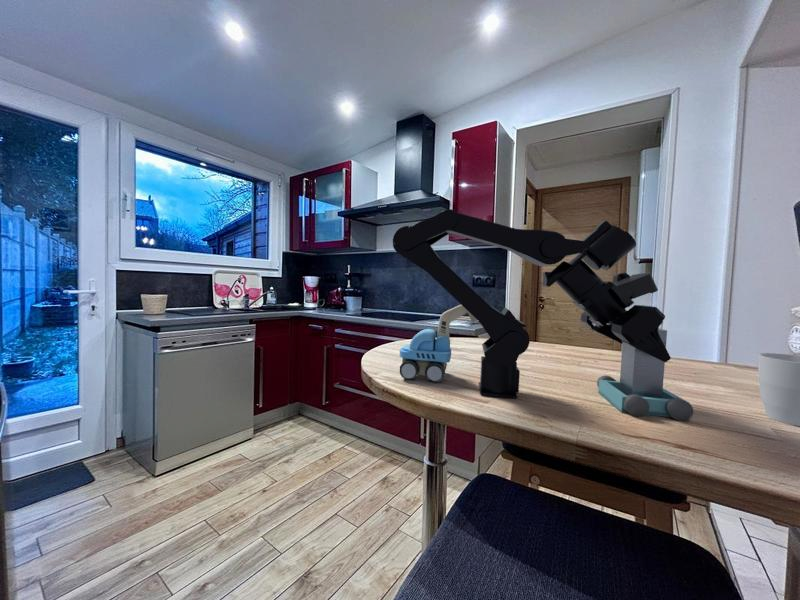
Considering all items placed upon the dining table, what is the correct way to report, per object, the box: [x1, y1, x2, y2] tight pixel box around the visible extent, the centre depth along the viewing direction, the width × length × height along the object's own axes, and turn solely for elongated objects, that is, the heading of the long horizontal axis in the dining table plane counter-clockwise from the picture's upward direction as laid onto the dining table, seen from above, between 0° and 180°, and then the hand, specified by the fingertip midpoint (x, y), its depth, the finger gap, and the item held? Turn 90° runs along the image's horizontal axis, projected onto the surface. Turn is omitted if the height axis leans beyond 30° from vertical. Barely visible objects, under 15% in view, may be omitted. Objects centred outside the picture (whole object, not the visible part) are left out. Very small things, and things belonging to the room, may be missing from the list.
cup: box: [757, 352, 800, 427], centre depth 51 cm, size 8×8×10 cm
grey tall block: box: [619, 328, 668, 398], centre depth 56 cm, size 4×4×13 cm
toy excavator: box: [399, 304, 478, 384], centre depth 69 cm, size 9×17×17 cm, turn 78°
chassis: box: [596, 374, 694, 422], centre depth 56 cm, size 10×12×3 cm
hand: (651, 353), depth 56 cm, fingers open, 9 cm apart
